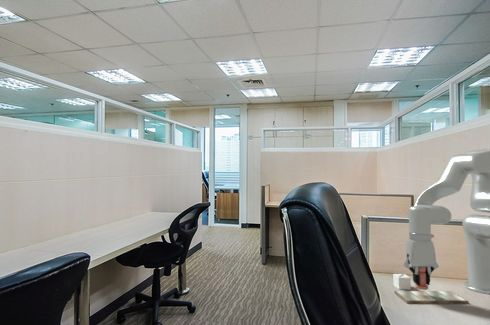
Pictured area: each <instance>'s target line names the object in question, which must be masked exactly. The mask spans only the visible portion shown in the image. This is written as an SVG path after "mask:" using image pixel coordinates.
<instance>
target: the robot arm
mask: <svg viewBox="0 0 490 325" xmlns="http://www.w3.org/2000/svg"><path fill="white" fill-rule="evenodd" d="M469 174H470V175H471V179H472V182H471V191H470V198H469V206H470V208H471V209H472V210H474V211H476V212H480V213H488V214H490V148H487V149H486V148H484V149H475V150H474V149H472V150H468V151H466V152H465V151H464V153H460V154H454V155H452V156H451V157H449V159H448V161H447V163H446V165H445V166H444V168H443V171H442V172H441V174H440V175H439V178H438V180H437V181H436V182H435V183H433V184H431V186H429V187H428V188H426V189H425V190H424V191H422V193H420V195H419V196H418V198H417V199H416V201H415V204H414V206H413V205H412V206H410V207H409V208H408V234H409V235H408V236H409V239H407V240H406V245H405V254H404V255H405V256H404V258H405V259H404V260H405V261H404V263H403V267H404V268H406V269H408V270H409V271H410V272H411V273H412V282H413V283H414V284H417V285H420V276H419V275H418V267H426V271H425V273H426V285H428V286H430V285H431V283H430V282H431V275H432V273H433V271H434V270H436V269H438V268H439V267H440V265H438V262H437V258H436V251H435V250H436V249H435V245H434V241H432V239H434V238H435V235H434V234H433V233H432V231H431V226H432V225H437V226H438V225H439V226H442V225H447V224H448V223H449V222H451V220H452V217H453V216H452V213H451V211H450V209H449V208H447V207H445V206H441V205H434V203H436V202H437V201H439V200H441V199H443V198H445V197H448V196H452V195H455V194H457V193H458V192H460V191H461V189H462V187H463V184H464V183H465V181H466V178H467V177H468V175H469ZM462 229H463V233H464V237H465V241H466V242H465V243H466V244H465V245H466V261H467V262H466V263H467V264H466V265H467V280H468V281H465V282H464V283H463V286H464V287H465V289H468V290H470V291H473V292H476V293H479V294H485V295H486V294H487V295H490V215H485V214H474V213H473V214H469V215H466V216H465V217H463V220H462Z"/></svg>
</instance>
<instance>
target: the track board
mask: <svg viewBox="0 0 490 325" xmlns="http://www.w3.org/2000/svg"><path fill="white" fill-rule="evenodd" d="M394 295H396V296H397V297H398V298H400V299H401V300H402V301H404V303H406V304H413V305H414V304H420V305H421V304H422V305H425V304H426V305H427V304H428V305H429V304H437V305H438V304H445V305H446V304H447V305H448V304H449V305H450V304H454V305H455V304H458V305H459V304H464V305H466V304H469V300H467V299H466V298H464V297H462V296H460V295H459V294H457V293H455V292H454V291H452V290H395V291H394Z"/></svg>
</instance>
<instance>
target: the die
mask: <svg viewBox="0 0 490 325" xmlns="http://www.w3.org/2000/svg"><path fill="white" fill-rule="evenodd" d="M392 275H393V277H392V278H393V280H392V281H393V286H394V287H395V288H396V289H398V290H411V289H412V283H411V277H410V276H408V275H407V274H405V273H393V274H392Z"/></svg>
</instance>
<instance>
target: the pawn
mask: <svg viewBox="0 0 490 325" xmlns="http://www.w3.org/2000/svg"><path fill="white" fill-rule="evenodd" d="M425 271H426V267H418V275H419V276H420V285H417V284H415V283H414V284H415V288H416V289H418V290H421V291H428V290H429V285H427V284H426V273H425Z"/></svg>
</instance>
